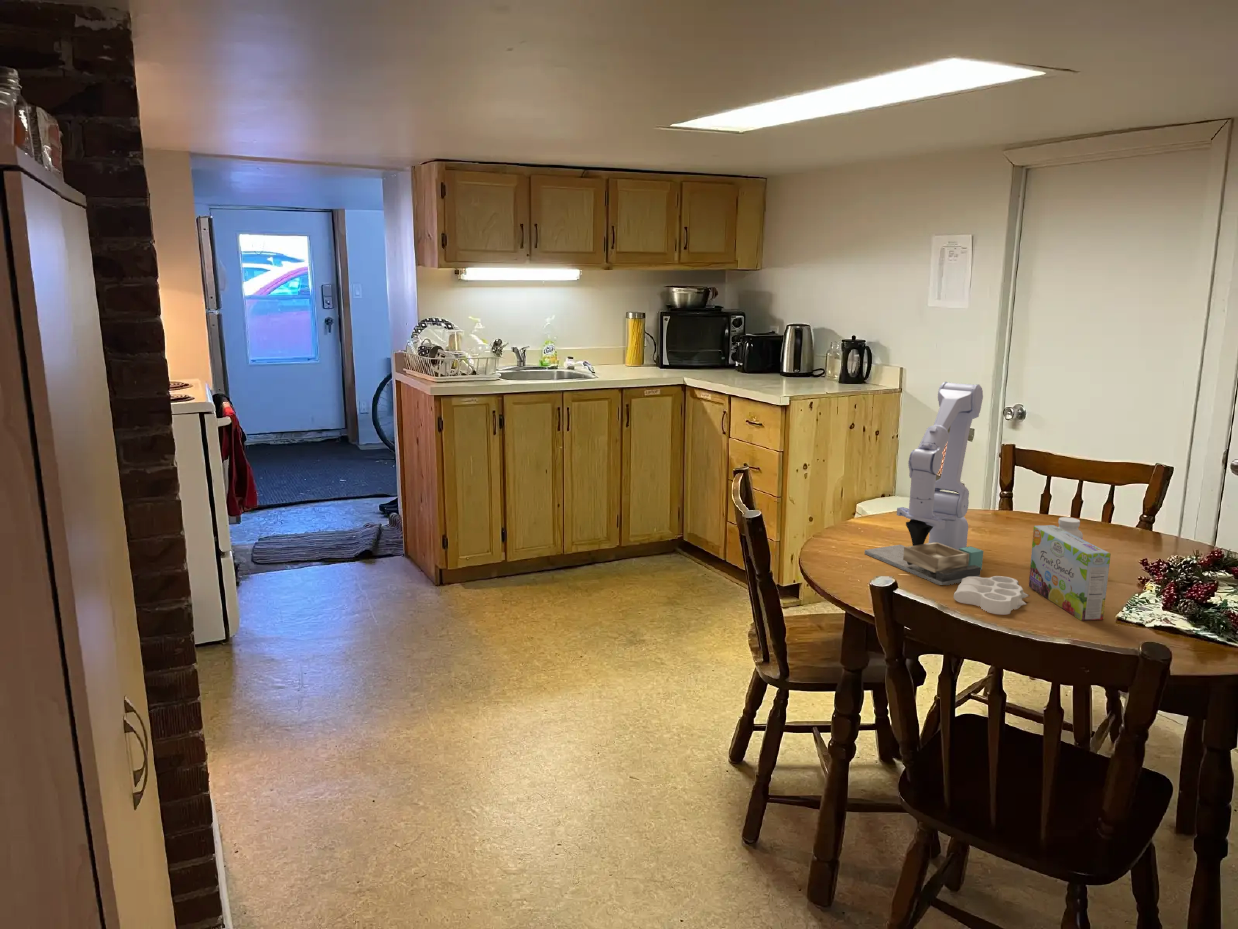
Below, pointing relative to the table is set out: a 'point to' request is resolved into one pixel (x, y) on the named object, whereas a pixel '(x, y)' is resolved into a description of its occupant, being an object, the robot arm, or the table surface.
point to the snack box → (1069, 572)
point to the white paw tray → (991, 593)
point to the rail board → (944, 577)
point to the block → (974, 556)
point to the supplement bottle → (1070, 526)
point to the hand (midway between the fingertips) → (917, 549)
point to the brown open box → (935, 557)
